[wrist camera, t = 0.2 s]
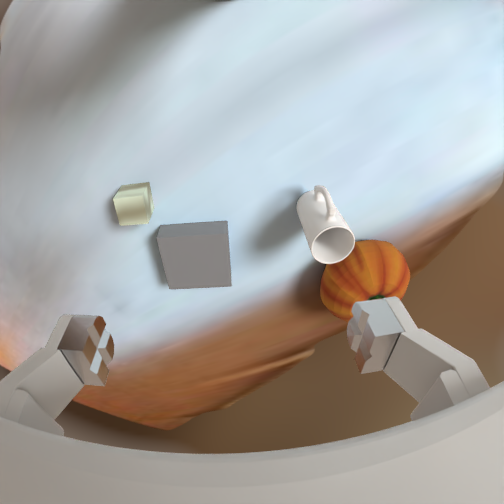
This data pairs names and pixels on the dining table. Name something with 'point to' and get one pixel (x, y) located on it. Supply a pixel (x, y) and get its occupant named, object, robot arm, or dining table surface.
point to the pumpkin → (364, 277)
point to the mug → (324, 226)
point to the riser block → (195, 254)
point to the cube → (134, 204)
